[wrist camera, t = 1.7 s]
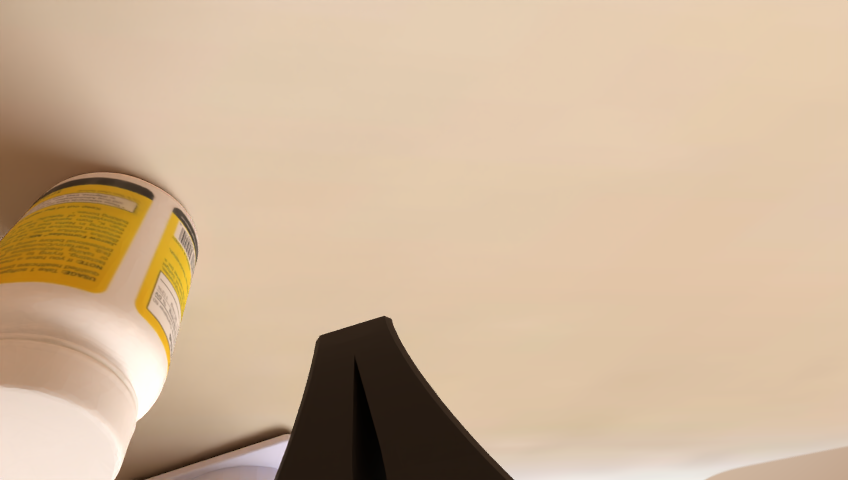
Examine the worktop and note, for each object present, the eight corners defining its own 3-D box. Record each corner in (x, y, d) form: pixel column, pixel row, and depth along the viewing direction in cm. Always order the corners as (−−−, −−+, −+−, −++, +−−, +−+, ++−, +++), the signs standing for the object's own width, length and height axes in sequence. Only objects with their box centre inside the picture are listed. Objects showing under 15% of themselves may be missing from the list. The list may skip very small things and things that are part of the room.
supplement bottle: (-2, 235, 16) (-240, 484, 8) (102, 136, 15) (-64, 319, 8) (137, 318, 18) (42, 562, 11) (232, 237, 17) (195, 444, 10)
